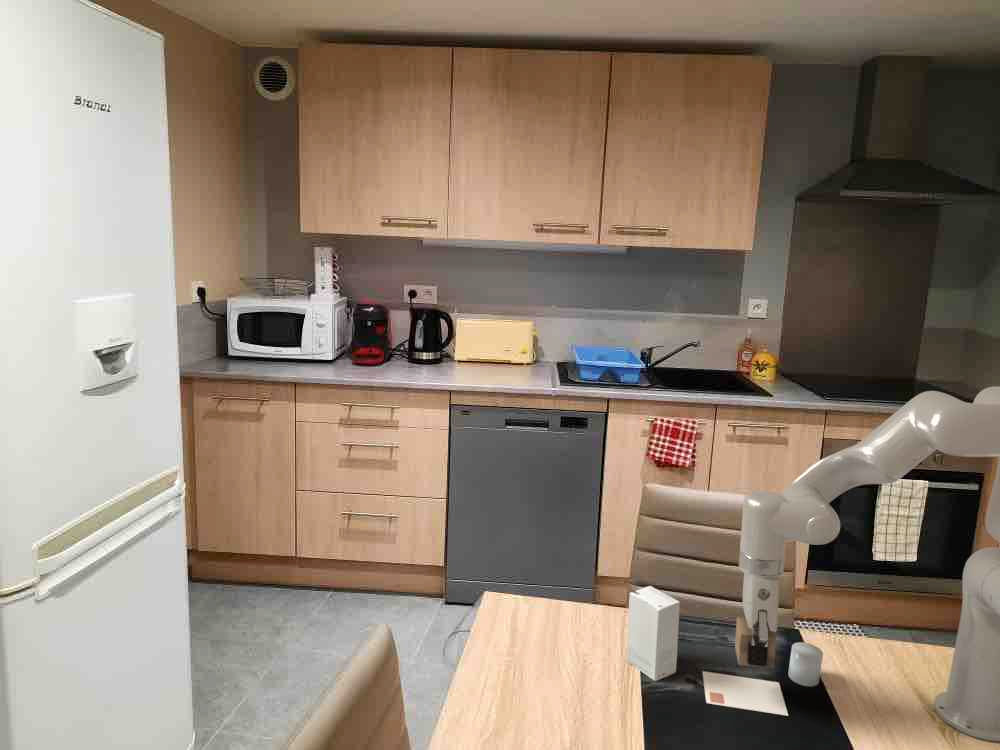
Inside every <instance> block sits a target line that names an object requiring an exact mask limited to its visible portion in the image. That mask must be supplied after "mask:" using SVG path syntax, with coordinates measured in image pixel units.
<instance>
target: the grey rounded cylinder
mask: <svg viewBox="0 0 1000 750" xmlns="http://www.w3.org/2000/svg"><path fill="white" fill-rule="evenodd" d="M790 651H791V652H790V658H789V666H788V672H787V673H788V674H787V675H788V677H789V679H790V680H791V681H792V682H794V683H796V684H798V685H799V686H804V687H815V686H818V685H819V683H820V677H821V671H822V665H823V664H822V663H823V657H824V652H823V651H822V649H821V648H819V647H817V646H816V645H814V644H811V643H808V642H802V641H801V642H799V641H798V642H795V643H793V644H792V646H791V650H790Z"/></svg>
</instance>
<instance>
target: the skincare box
mask: <svg viewBox="0 0 1000 750" xmlns="http://www.w3.org/2000/svg"><path fill="white" fill-rule="evenodd" d="M680 605H681V602H680V601H679V600H678V599H675V598H673V597H672V596H669V594H666V593H664V592H662V591H661V590H659V589H657V588H655V587H653V586H652V585H649V586H645V587H643V588H640V589H637V590H634V591H631V592H629V600H628V620H627V623H628V624H627V625H628V626H627V641H626V642H627V643H626V644H627V645H626V660H625V661H626V662H627V663H628V664H629V665H631V666H633V667H634V668H636V669H637V670H638V671H640V672H641V673H643V674H644V675H646V676H647V677H649V678H650V679H652V680H653V681H654V682H657V681H659V680H661V679H664V678H667V677H670V676H672V675H673V674H676V672H677V665H678V664H677V663H678V661H677V660H678V641H679V623H680V622H679V621H680Z"/></svg>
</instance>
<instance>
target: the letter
mask: <svg viewBox="0 0 1000 750" xmlns="http://www.w3.org/2000/svg"><path fill="white" fill-rule="evenodd" d="M701 673H702V680H703V687H704V695H705V696H704V697H705V702H706V704H711V705H715V706H716V705H717V706H721V707H722V706H724V707H727V708H735V709H736V708H737V709H741V710H748V711H756V712H759V713H761V712H762V713H768V714H769V713H770V714H774V715H781V716H787V717H788V716H789V714H788V709H787V706H786V703H785V699H784V696H783V695H784V694H783V692H782V689H781V685H780V682H777V681H771V680H766V679H765V680H764V679H759V678H751V677H743V676H736V675H730V674H725V673H717V672H710V671H703V670H702V672H701Z"/></svg>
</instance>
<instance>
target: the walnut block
mask: <svg viewBox="0 0 1000 750" xmlns="http://www.w3.org/2000/svg"><path fill="white" fill-rule="evenodd" d="M735 627H736V628H735V640H734V649H735V654H736V658H737V663H738V665H739V666H744V667H745V666H746V667H755V668H756V667H757V668H763V669H764V668H765V669H775V659H776V649H777V635H776V632H773V631H770V628H769V625H768V654H767V665H766V666H758V665H749V664H748V662H747V659H748V646H749V642H751V629H750V628H749V627H748V625H747V621H746V618H745V617H738V616H737V617H736V626H735ZM754 627H758V624H755V625H754ZM758 633H759V631H755V637H756V636H758Z"/></svg>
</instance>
